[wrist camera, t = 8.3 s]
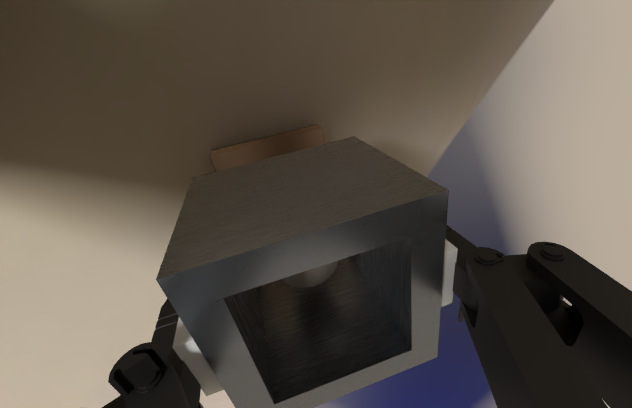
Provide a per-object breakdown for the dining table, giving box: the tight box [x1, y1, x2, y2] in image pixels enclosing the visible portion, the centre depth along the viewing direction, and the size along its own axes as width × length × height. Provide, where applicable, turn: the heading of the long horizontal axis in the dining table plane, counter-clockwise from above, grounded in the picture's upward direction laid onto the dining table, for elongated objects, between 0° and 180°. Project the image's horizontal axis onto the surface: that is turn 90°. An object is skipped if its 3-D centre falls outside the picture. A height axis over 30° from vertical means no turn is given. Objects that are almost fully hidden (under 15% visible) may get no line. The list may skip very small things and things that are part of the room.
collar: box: [156, 137, 449, 408], centre depth 12 cm, size 8×8×7 cm
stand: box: [210, 125, 338, 288], centre depth 16 cm, size 7×7×9 cm
